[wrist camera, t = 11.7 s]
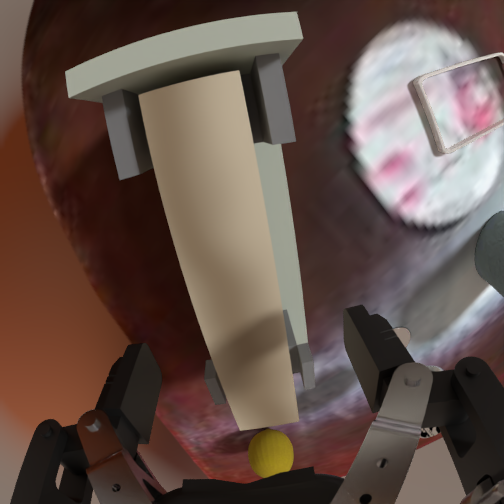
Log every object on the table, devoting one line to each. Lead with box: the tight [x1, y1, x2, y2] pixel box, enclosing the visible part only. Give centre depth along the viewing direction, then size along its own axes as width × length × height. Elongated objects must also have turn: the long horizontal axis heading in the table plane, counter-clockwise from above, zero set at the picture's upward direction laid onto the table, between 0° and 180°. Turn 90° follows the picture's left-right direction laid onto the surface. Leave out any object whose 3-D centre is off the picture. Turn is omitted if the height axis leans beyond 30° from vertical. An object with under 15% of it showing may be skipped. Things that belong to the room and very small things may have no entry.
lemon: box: [248, 429, 294, 478], centre depth 31 cm, size 6×6×8 cm
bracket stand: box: [65, 12, 315, 405], centre depth 18 cm, size 9×24×12 cm, turn 10°
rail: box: [138, 70, 299, 431], centre depth 16 cm, size 4×20×5 cm, turn 10°
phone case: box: [413, 53, 504, 154], centre depth 20 cm, size 7×1×15 cm
